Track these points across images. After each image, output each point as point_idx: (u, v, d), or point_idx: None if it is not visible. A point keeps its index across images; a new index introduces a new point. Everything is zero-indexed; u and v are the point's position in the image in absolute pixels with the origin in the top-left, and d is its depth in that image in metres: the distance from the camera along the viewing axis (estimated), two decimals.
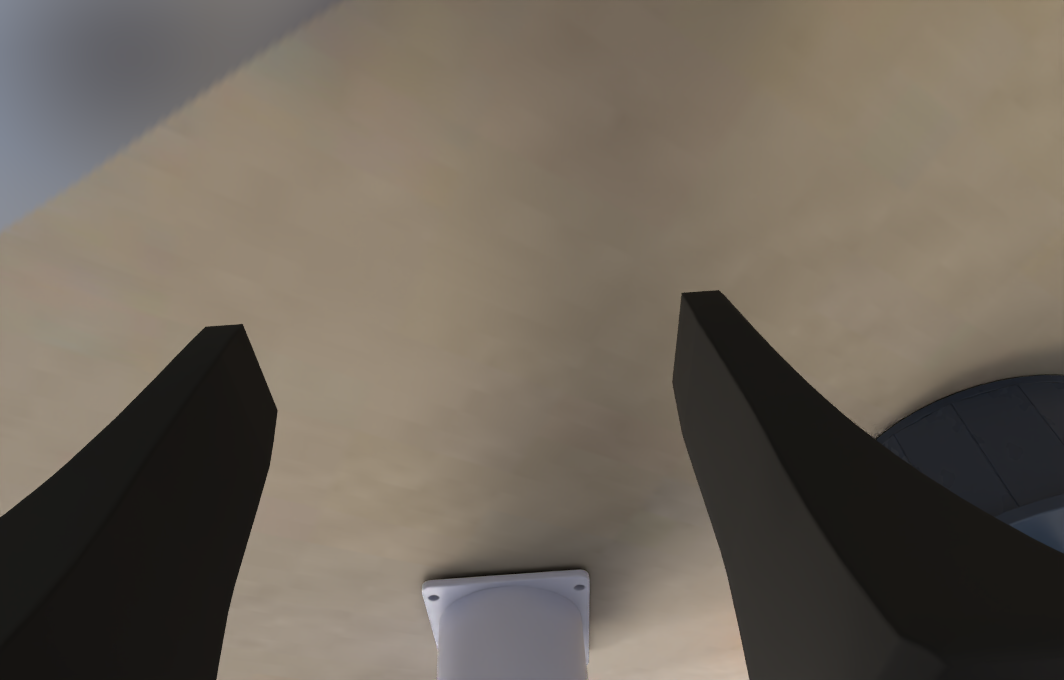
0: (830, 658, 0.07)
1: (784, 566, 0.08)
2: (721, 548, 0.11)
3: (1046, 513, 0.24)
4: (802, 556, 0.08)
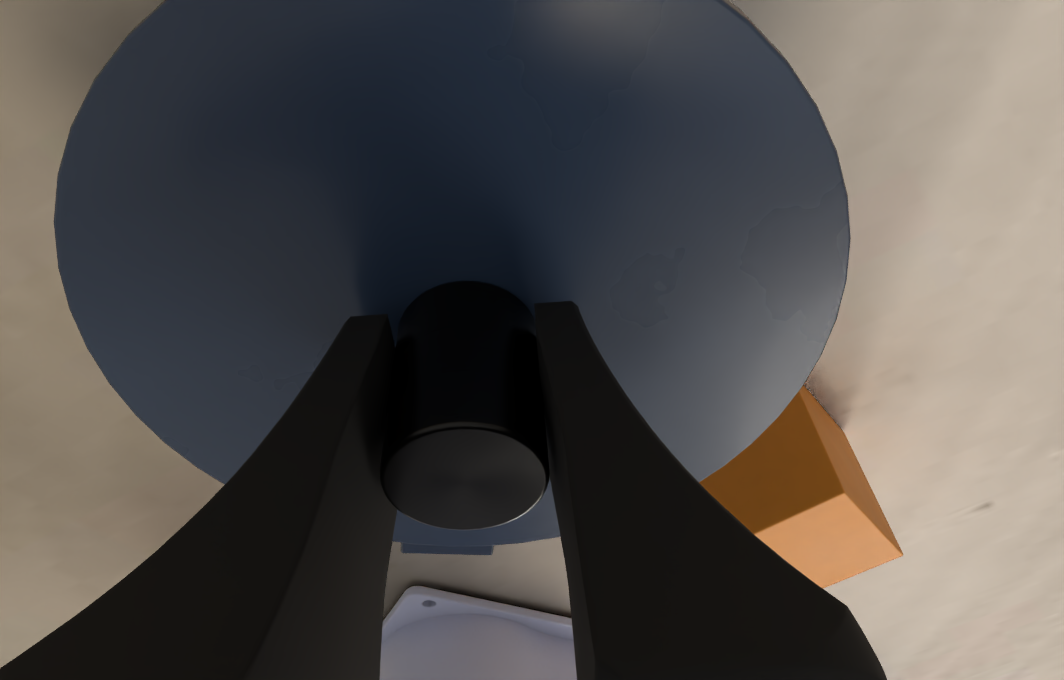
0: (587, 676, 0.07)
1: (575, 581, 0.08)
2: (565, 559, 0.11)
3: (85, 342, 0.13)
4: (577, 573, 0.08)
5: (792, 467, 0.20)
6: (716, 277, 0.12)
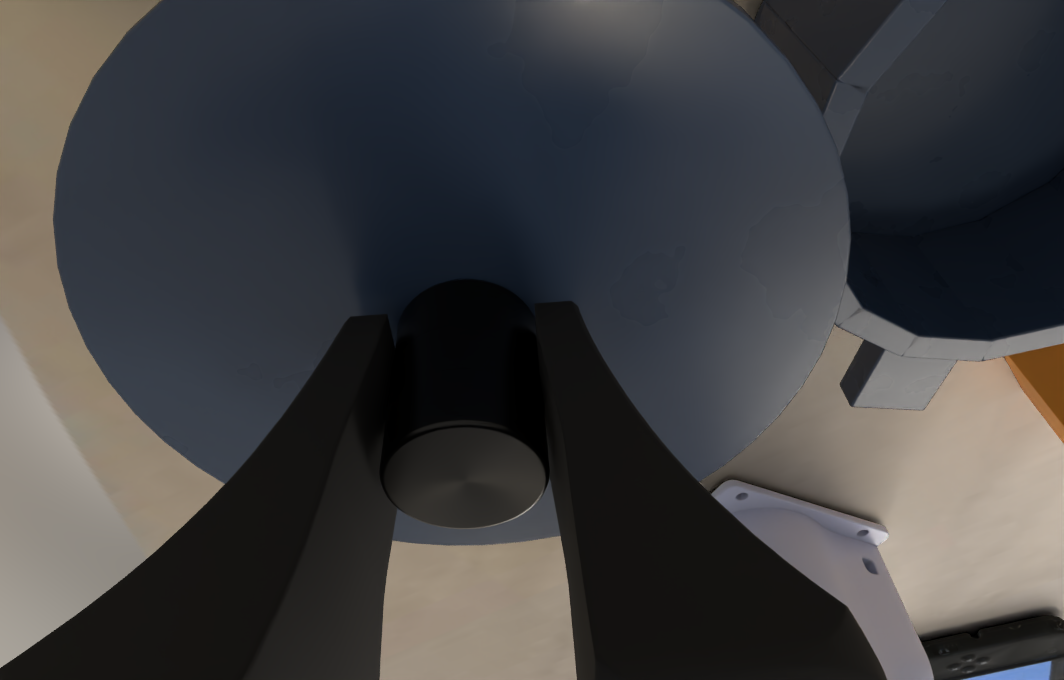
0: (588, 676, 0.07)
1: (575, 581, 0.08)
2: (565, 559, 0.11)
3: (85, 340, 0.13)
4: (577, 572, 0.08)
5: None
6: (717, 275, 0.12)
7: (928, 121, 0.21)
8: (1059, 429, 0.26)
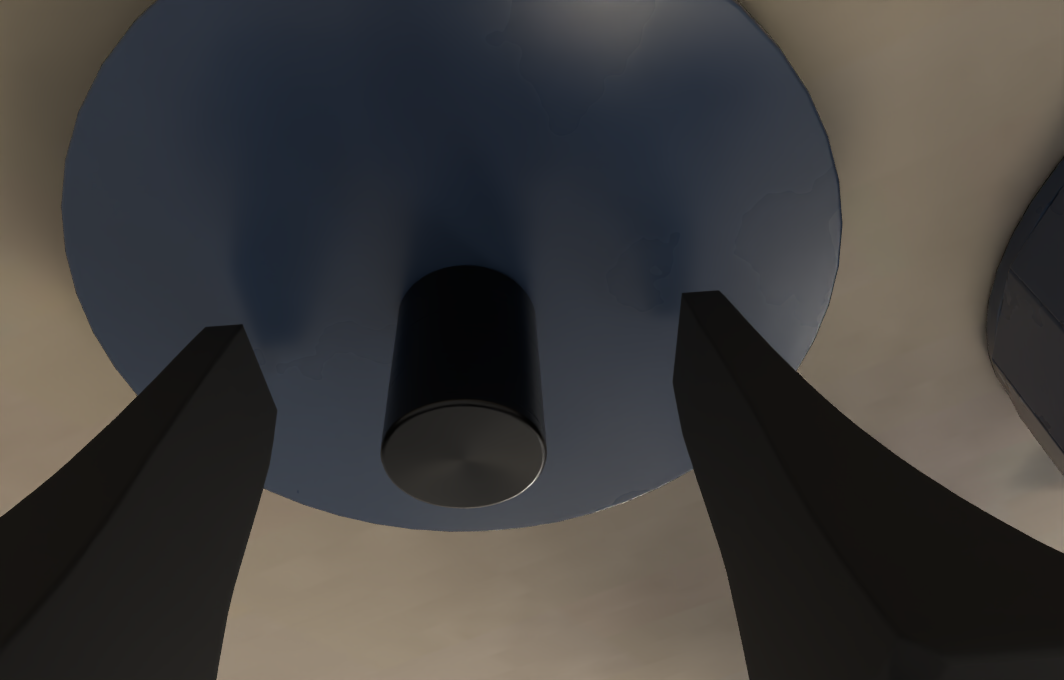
0: (830, 658, 0.07)
1: (784, 566, 0.08)
2: (721, 548, 0.11)
3: (92, 326, 0.13)
4: (802, 556, 0.08)
5: None
6: (711, 261, 0.13)
7: None
8: None
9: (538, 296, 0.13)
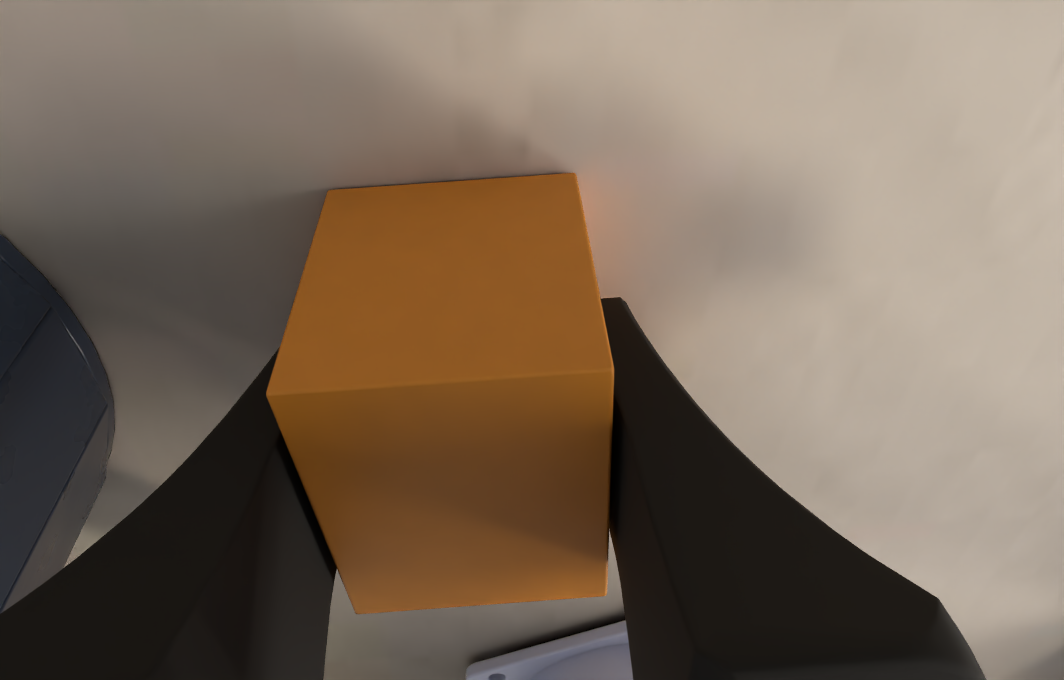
0: (667, 670, 0.07)
1: (644, 576, 0.08)
2: (616, 556, 0.11)
3: None
4: (651, 567, 0.08)
5: None
6: None
7: None
8: None
9: None
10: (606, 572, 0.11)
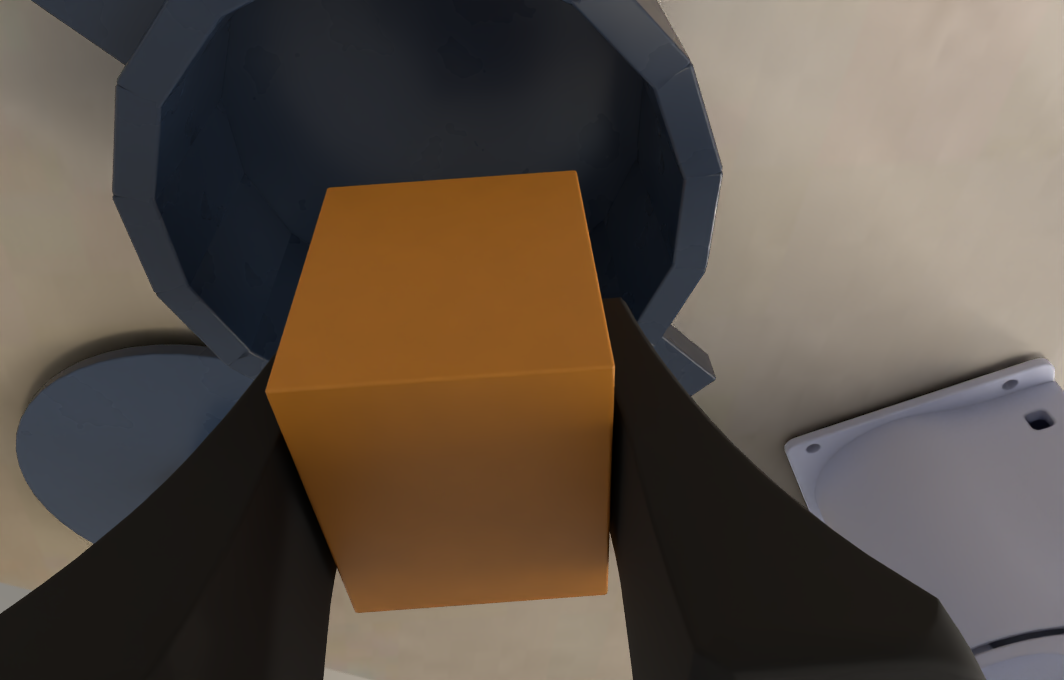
0: (667, 670, 0.07)
1: (644, 576, 0.08)
2: (616, 556, 0.11)
3: None
4: (651, 567, 0.08)
5: None
6: None
7: (474, 168, 0.20)
8: None
9: None
10: (607, 571, 0.11)
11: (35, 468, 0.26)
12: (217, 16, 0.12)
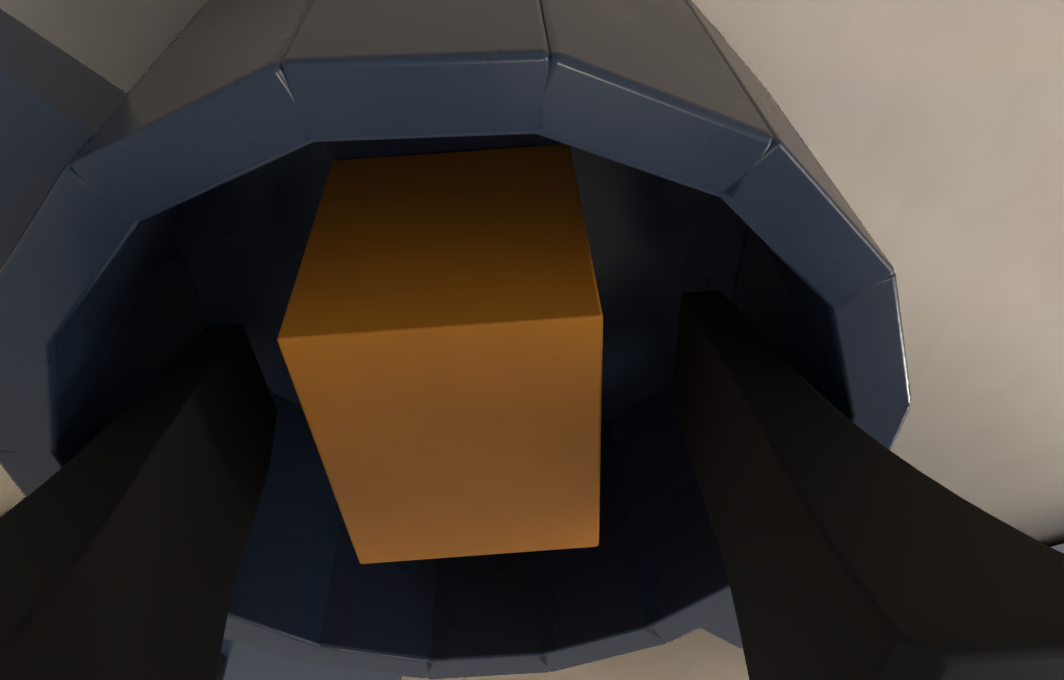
0: (830, 658, 0.07)
1: (784, 566, 0.08)
2: (721, 548, 0.11)
3: None
4: (802, 556, 0.08)
5: None
6: None
7: None
8: None
9: None
10: (598, 522, 0.12)
11: None
12: (133, 222, 0.07)
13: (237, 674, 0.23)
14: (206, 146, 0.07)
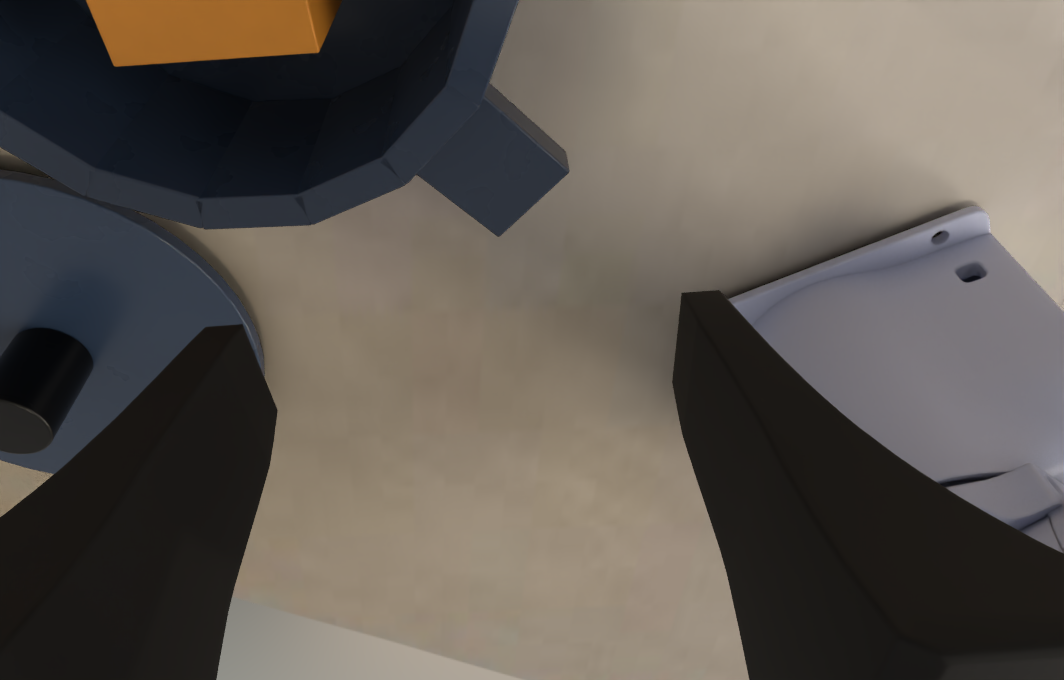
0: (830, 658, 0.07)
1: (784, 566, 0.08)
2: (721, 547, 0.11)
3: (2, 460, 0.27)
4: (802, 556, 0.08)
5: None
6: (54, 252, 0.22)
7: None
8: None
9: (49, 324, 0.23)
10: (310, 16, 0.14)
11: None
12: None
13: (105, 378, 0.25)
14: None
